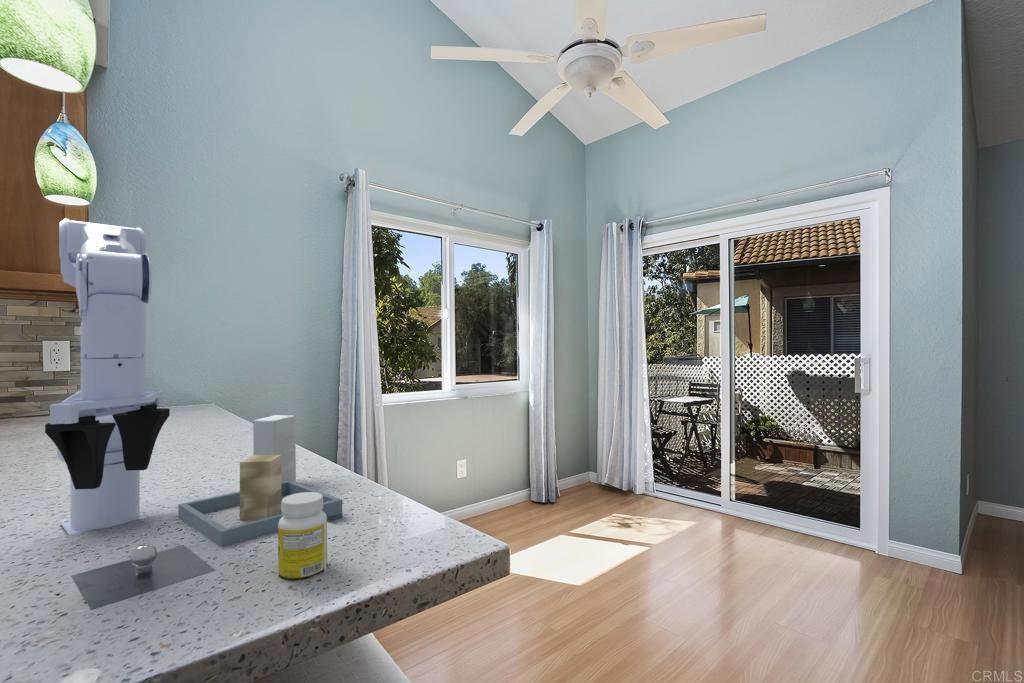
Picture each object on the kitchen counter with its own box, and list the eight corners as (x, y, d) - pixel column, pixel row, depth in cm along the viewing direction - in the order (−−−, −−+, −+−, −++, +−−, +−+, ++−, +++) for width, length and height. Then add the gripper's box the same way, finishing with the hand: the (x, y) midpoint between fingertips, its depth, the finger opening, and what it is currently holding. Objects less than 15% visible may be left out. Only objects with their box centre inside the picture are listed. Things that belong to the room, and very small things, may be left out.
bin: (178, 522, 68) (178, 504, 68) (290, 495, 79) (290, 480, 79) (221, 553, 57) (221, 531, 57) (342, 517, 69) (342, 499, 69)
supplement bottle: (292, 566, 54) (291, 490, 54) (334, 567, 54) (334, 490, 54) (269, 588, 49) (268, 504, 49) (315, 589, 49) (315, 504, 49)
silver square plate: (71, 583, 50) (71, 547, 50) (183, 551, 58) (183, 520, 58) (91, 618, 44) (91, 576, 44) (215, 577, 51) (215, 542, 51)
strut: (239, 521, 66) (239, 462, 66) (252, 511, 70) (252, 455, 70) (270, 520, 67) (270, 461, 67) (281, 510, 71) (281, 454, 71)
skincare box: (274, 481, 88) (274, 414, 88) (296, 482, 87) (296, 415, 87) (252, 491, 82) (252, 419, 82) (275, 492, 81) (275, 420, 81)
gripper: (103, 359, 49) (103, 497, 48) (188, 356, 63) (188, 462, 63) (27, 360, 48) (26, 499, 48) (130, 356, 62) (129, 463, 62)
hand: (113, 478), depth 55 cm, fingers open, 7 cm apart
